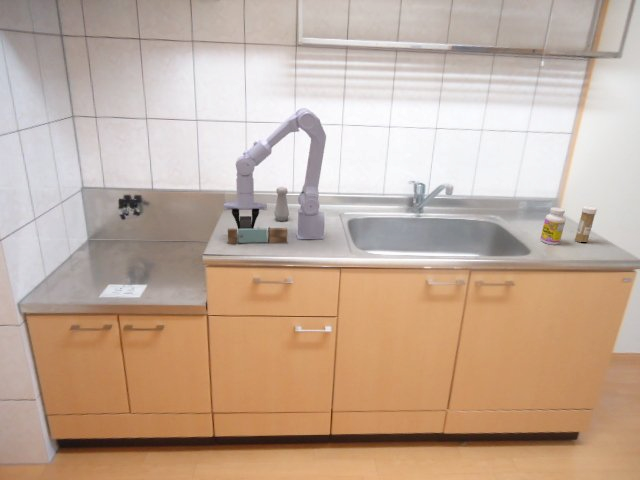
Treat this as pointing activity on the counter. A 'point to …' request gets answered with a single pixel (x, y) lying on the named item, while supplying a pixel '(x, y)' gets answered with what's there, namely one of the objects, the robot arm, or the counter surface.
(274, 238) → the wall
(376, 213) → the counter surface
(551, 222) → the supplement bottle
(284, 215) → the salt shaker
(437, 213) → the counter surface
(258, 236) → the door
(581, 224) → the sprinkles bottle
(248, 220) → the block
